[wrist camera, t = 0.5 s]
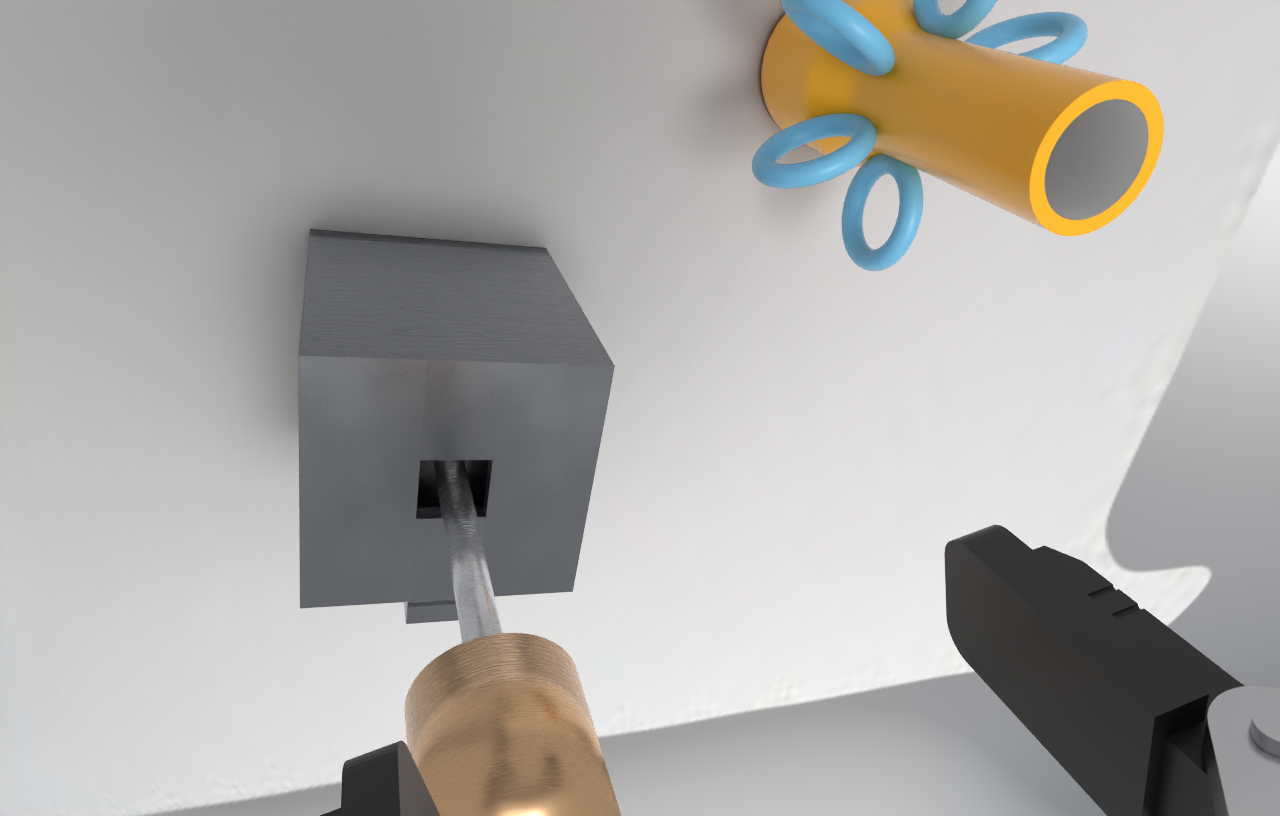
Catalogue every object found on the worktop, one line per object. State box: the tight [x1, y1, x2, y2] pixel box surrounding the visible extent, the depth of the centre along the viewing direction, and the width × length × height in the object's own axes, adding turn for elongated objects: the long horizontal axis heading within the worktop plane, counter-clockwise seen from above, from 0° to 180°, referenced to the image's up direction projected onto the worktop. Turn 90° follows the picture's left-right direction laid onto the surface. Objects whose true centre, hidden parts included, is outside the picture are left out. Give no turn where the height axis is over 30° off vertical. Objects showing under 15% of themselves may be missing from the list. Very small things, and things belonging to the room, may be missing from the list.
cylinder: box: [752, 0, 1164, 271], centre depth 28 cm, size 12×10×15 cm
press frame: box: [299, 229, 615, 624], centre depth 31 cm, size 12×9×11 cm
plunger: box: [405, 460, 621, 816], centre depth 23 cm, size 7×7×15 cm
